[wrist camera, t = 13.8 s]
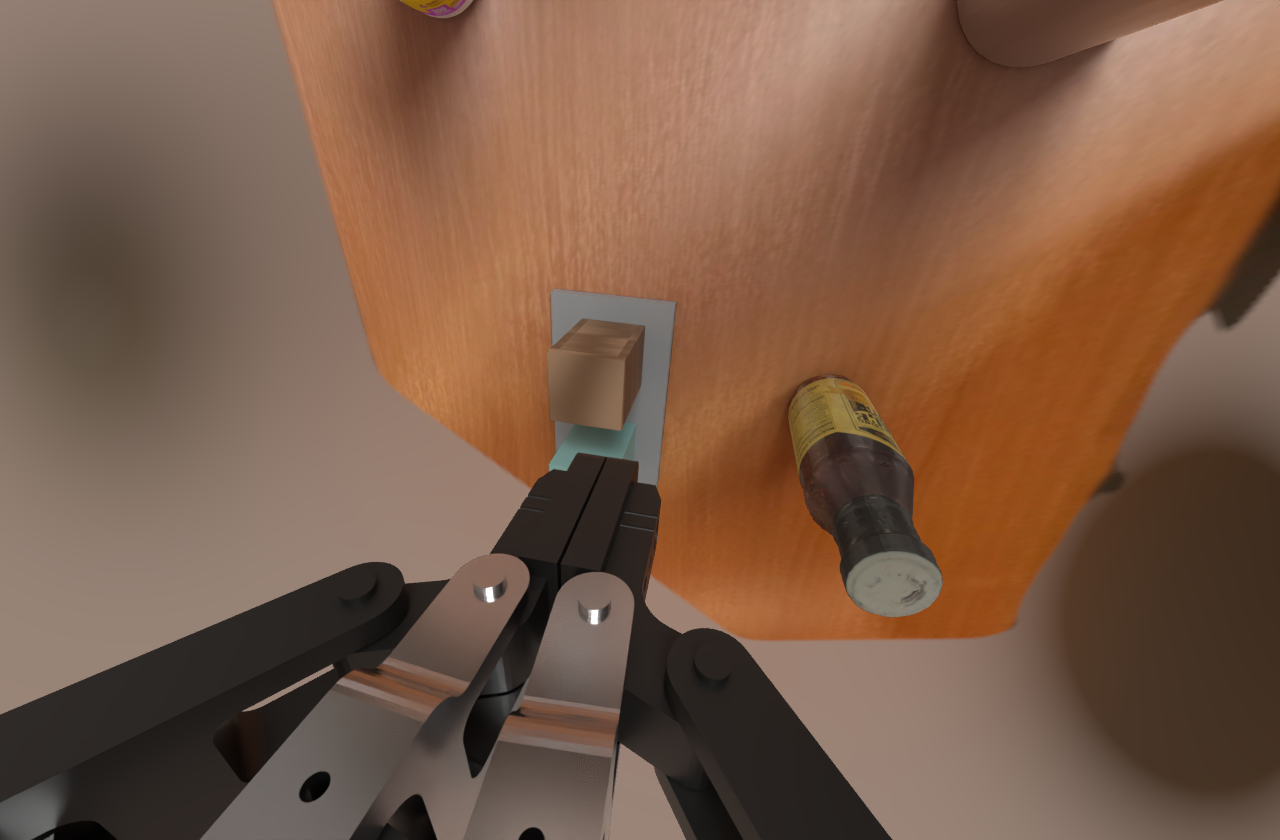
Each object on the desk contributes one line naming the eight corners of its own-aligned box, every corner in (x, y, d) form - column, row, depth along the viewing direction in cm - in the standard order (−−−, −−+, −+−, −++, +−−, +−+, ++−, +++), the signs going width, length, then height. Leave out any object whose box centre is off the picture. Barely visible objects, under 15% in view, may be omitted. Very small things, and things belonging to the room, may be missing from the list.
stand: (676, 301, 36) (660, 337, 28) (657, 485, 45) (641, 551, 37) (555, 288, 37) (507, 318, 29) (559, 469, 46) (524, 530, 38)
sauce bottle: (876, 419, 37) (999, 626, 20) (803, 447, 40) (856, 654, 23) (846, 352, 35) (954, 520, 18) (770, 387, 38) (802, 564, 21)
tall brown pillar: (645, 325, 36) (624, 361, 29) (641, 385, 39) (621, 430, 32) (582, 318, 37) (547, 351, 30) (582, 377, 39) (549, 420, 32)
